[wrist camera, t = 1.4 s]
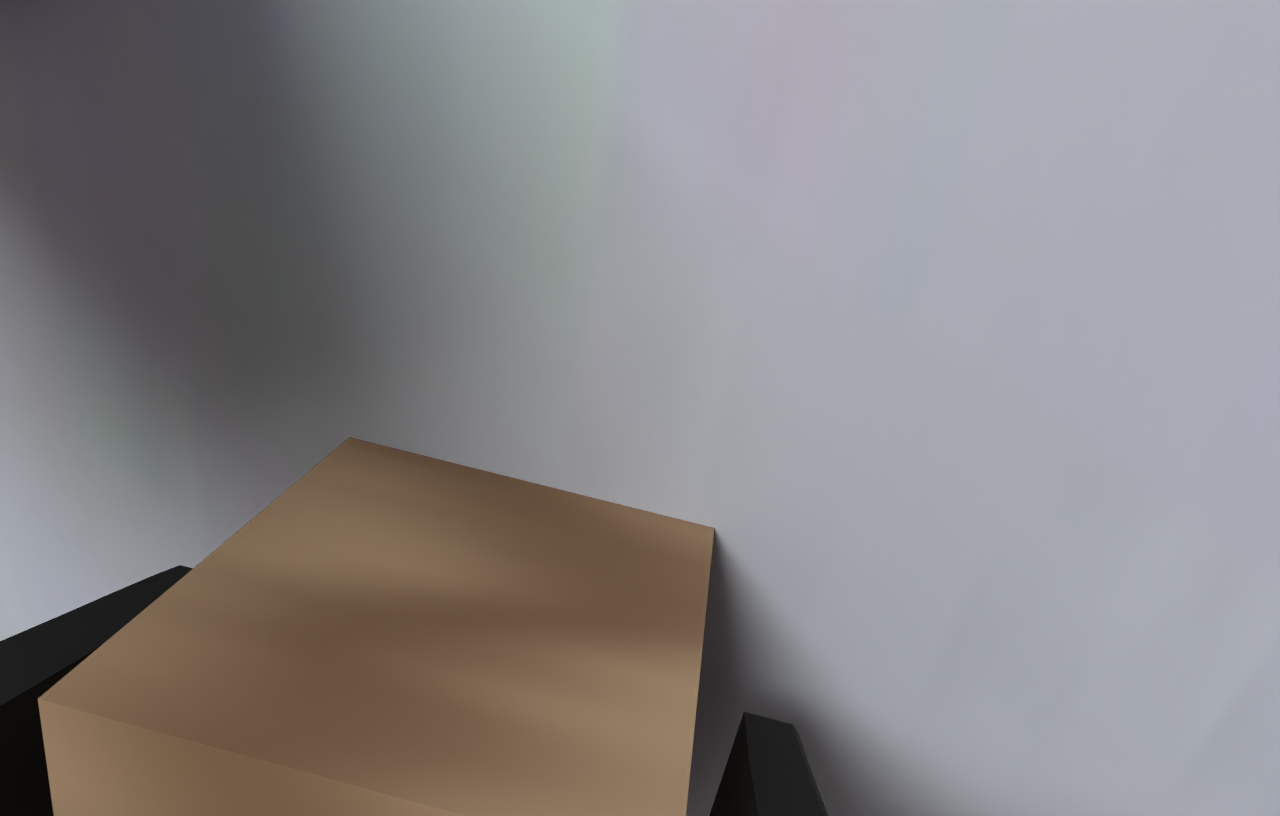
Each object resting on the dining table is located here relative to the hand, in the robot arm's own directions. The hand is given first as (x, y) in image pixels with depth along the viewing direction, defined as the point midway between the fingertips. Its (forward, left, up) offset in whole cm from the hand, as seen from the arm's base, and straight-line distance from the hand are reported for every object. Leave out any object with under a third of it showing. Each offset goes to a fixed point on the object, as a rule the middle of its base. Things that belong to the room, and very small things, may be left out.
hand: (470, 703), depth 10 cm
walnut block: (0, 0, -2) cm, 2 cm away
